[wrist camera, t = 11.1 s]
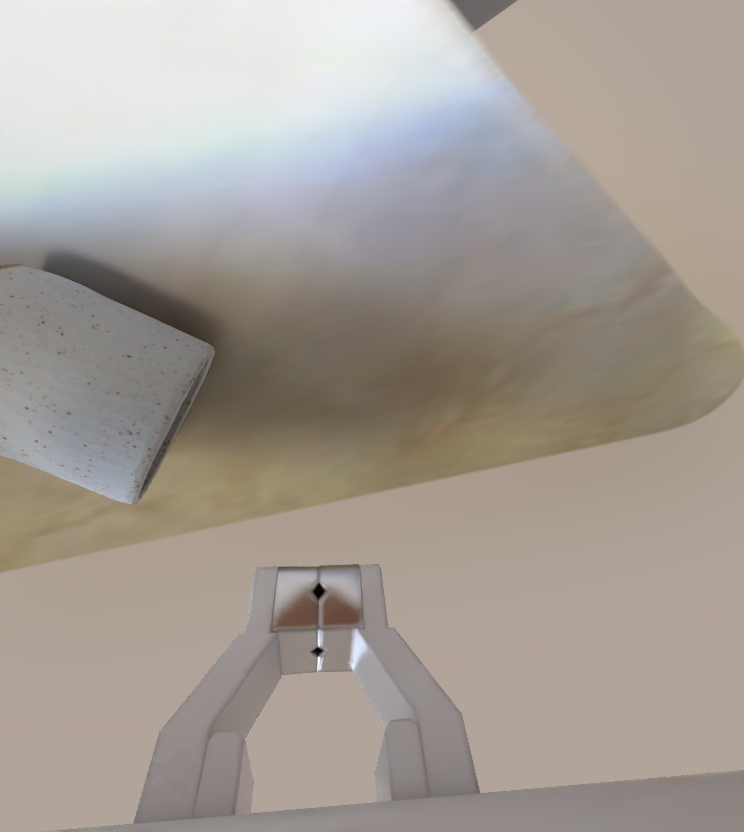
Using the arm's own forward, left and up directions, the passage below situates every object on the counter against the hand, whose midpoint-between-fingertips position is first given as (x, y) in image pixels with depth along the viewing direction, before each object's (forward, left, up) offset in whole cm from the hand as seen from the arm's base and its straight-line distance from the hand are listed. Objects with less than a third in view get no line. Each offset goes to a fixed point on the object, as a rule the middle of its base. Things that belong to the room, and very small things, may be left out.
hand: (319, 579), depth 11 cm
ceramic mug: (+7, -7, -14) cm, 17 cm away
